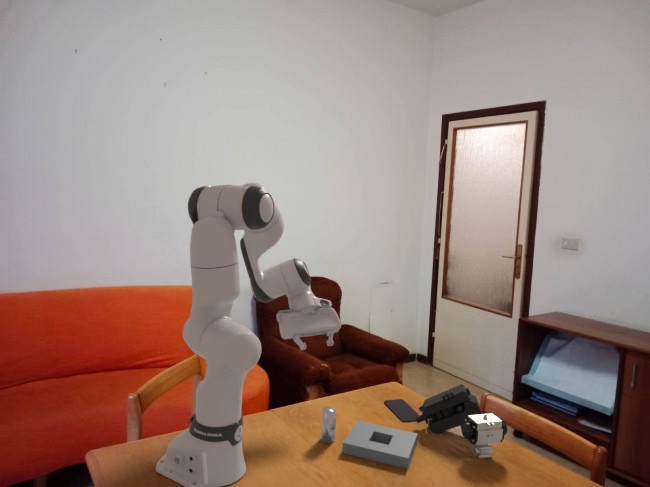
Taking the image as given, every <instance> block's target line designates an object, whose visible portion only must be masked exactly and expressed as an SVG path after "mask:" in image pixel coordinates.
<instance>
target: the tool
mask: <svg viewBox="0 0 650 487" xmlns="http://www.w3.org/2000/svg"><path fill="white" fill-rule="evenodd" d="M418 410H419V412H421V414H419V415H420V416H417V417H415V419H416V421H415V422H416V423H417V424H419V423H422V422H425V424H426V425H427V427H428V428H427V429H428V430H429V432H430V433H431V434H433V435H437V434H439V433H442V432H443V433H444V432H446V431H448V430H451V429H454V428H457V427H461V425H462V423H463V422H466V421H465V419H466V416H468V415H479V414H483V413H482V409H481V406H480V403H479V401H478V398H477V397H476V395H473V394H472V393H471V390H470V389H469V387H466V386H465V384H461V383H460V384H459V385H456V386H453V387H451V388H449V389H446V390H443V391H442V392H440V393H437V394H434V395H433V396H431V397H428V398H426V399H424V401H423V404H422V405H420V406H419V407H418Z"/></svg>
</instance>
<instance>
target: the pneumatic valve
mask: <svg viewBox="0 0 650 487" xmlns="http://www.w3.org/2000/svg"><path fill="white" fill-rule="evenodd" d="M465 421H466V422H463V423H462V425H461V426H460V430H461V435H462V437H463V438H464V440H465V439H466V440H467V441H469V443H470V444H472V445H473V446H471V451H472V454H473V455H474V456H476V457H477V458H478V459H480V460H482V459H489V458H491V457H492V453H493V452H494V450H493V446H492V445H491V444H499V443H503V440H505V436H506V435H507V433H508V426H507V423H506V421H505V420H504V419H503V418H501V417H499V416H498V415H497V414H496V413H492V412H491V413H482V414H479V415H468V416H466V419H465Z"/></svg>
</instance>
